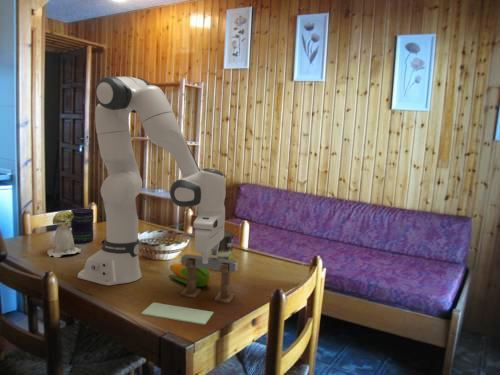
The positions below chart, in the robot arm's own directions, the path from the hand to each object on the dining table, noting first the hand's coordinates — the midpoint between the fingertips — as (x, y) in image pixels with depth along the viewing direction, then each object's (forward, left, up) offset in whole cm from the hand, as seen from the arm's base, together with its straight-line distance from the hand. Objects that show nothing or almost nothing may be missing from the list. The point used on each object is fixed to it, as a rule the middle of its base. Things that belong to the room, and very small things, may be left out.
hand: (210, 258), depth 136 cm
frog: (-71, +21, -13) cm, 76 cm away
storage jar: (-75, +39, -13) cm, 86 cm away
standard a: (-6, 0, -13) cm, 14 cm away
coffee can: (-5, +30, -13) cm, 33 cm away
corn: (-11, +9, -13) cm, 20 cm away
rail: (0, 0, -3) cm, 3 cm away
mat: (-4, -16, -13) cm, 21 cm away
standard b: (+6, 0, -13) cm, 14 cm away
